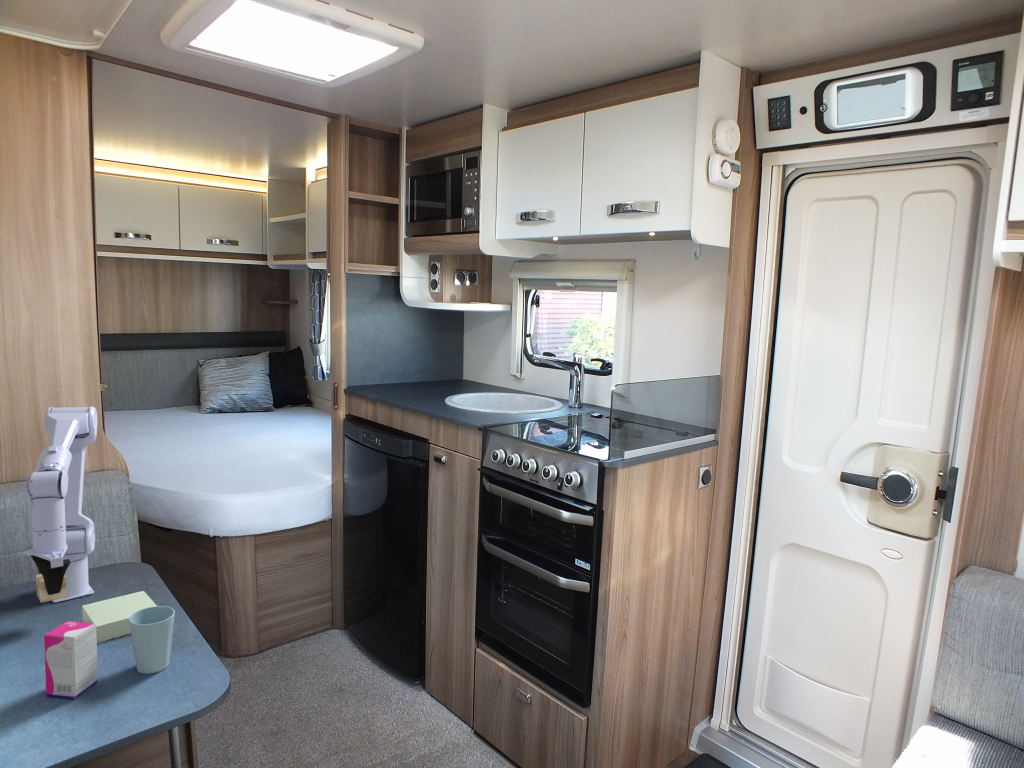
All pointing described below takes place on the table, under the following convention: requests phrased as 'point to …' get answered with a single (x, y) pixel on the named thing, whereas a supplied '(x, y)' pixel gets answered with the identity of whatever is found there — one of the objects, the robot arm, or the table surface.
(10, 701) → the table surface
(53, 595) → the birch block
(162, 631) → the cup
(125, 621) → the green box
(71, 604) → the table surface
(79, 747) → the table surface
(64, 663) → the supplement box
